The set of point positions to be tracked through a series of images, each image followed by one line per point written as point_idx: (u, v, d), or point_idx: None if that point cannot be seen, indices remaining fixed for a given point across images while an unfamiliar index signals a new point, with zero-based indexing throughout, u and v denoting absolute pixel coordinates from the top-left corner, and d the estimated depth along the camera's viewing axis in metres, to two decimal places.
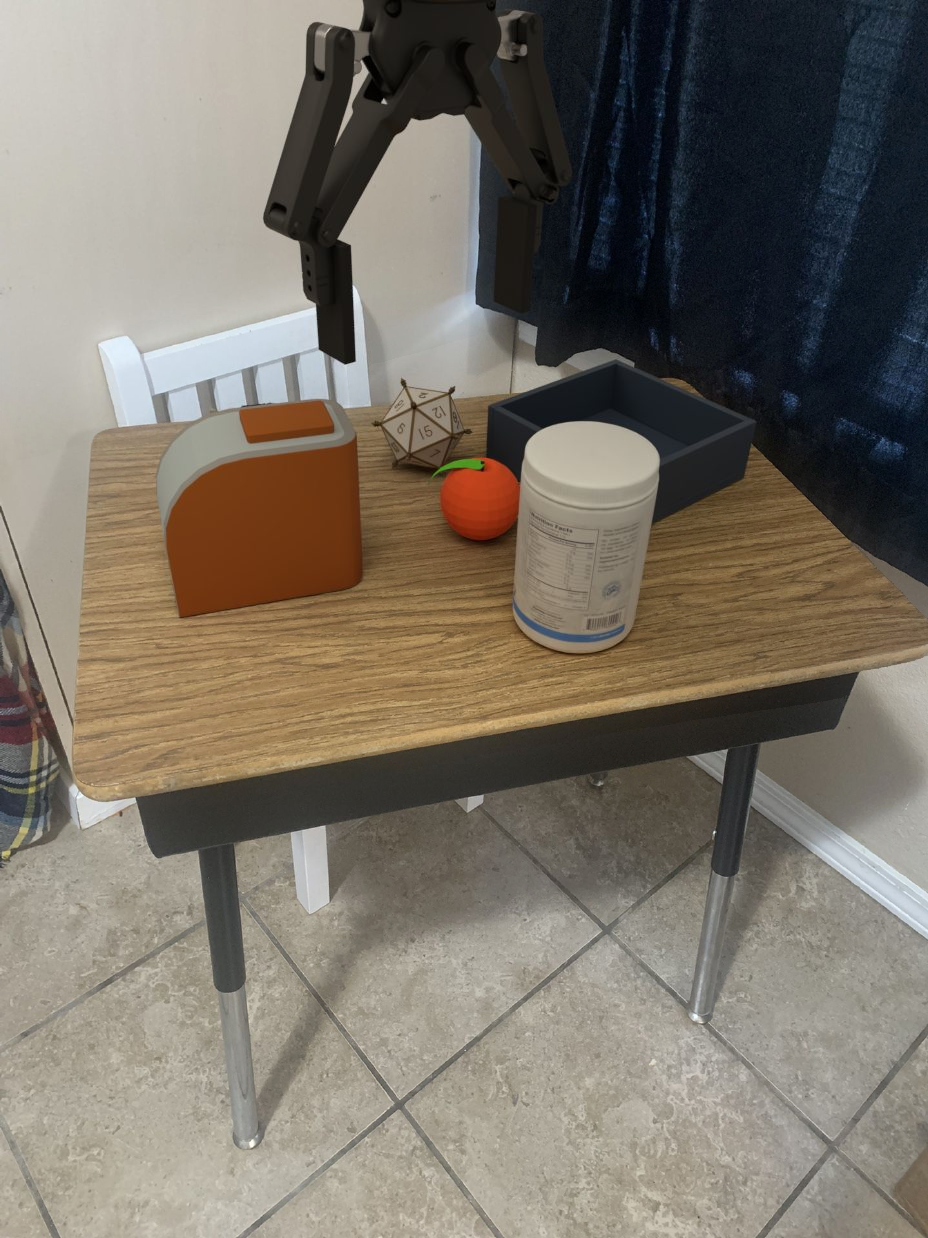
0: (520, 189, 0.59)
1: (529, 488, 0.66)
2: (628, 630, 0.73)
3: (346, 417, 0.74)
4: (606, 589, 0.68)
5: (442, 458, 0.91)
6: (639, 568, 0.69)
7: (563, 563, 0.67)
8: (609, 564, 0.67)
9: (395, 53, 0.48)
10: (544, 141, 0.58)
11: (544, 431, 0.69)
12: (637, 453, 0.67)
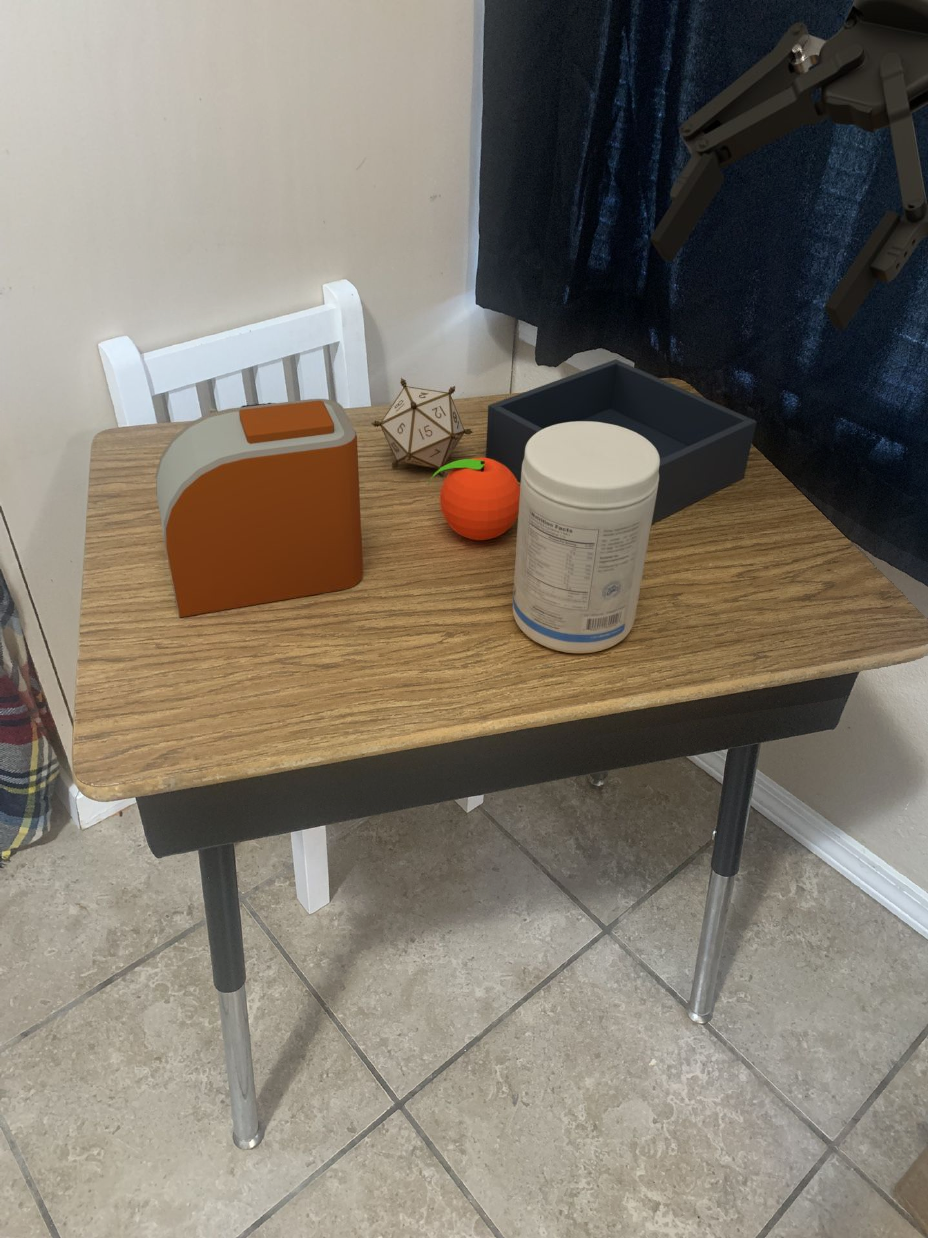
0: None
1: (529, 487, 0.66)
2: (628, 630, 0.73)
3: (346, 417, 0.74)
4: (606, 589, 0.68)
5: (442, 458, 0.91)
6: (639, 568, 0.69)
7: (563, 563, 0.67)
8: (609, 564, 0.67)
9: (832, 49, 0.62)
10: None
11: (544, 431, 0.69)
12: (637, 453, 0.67)
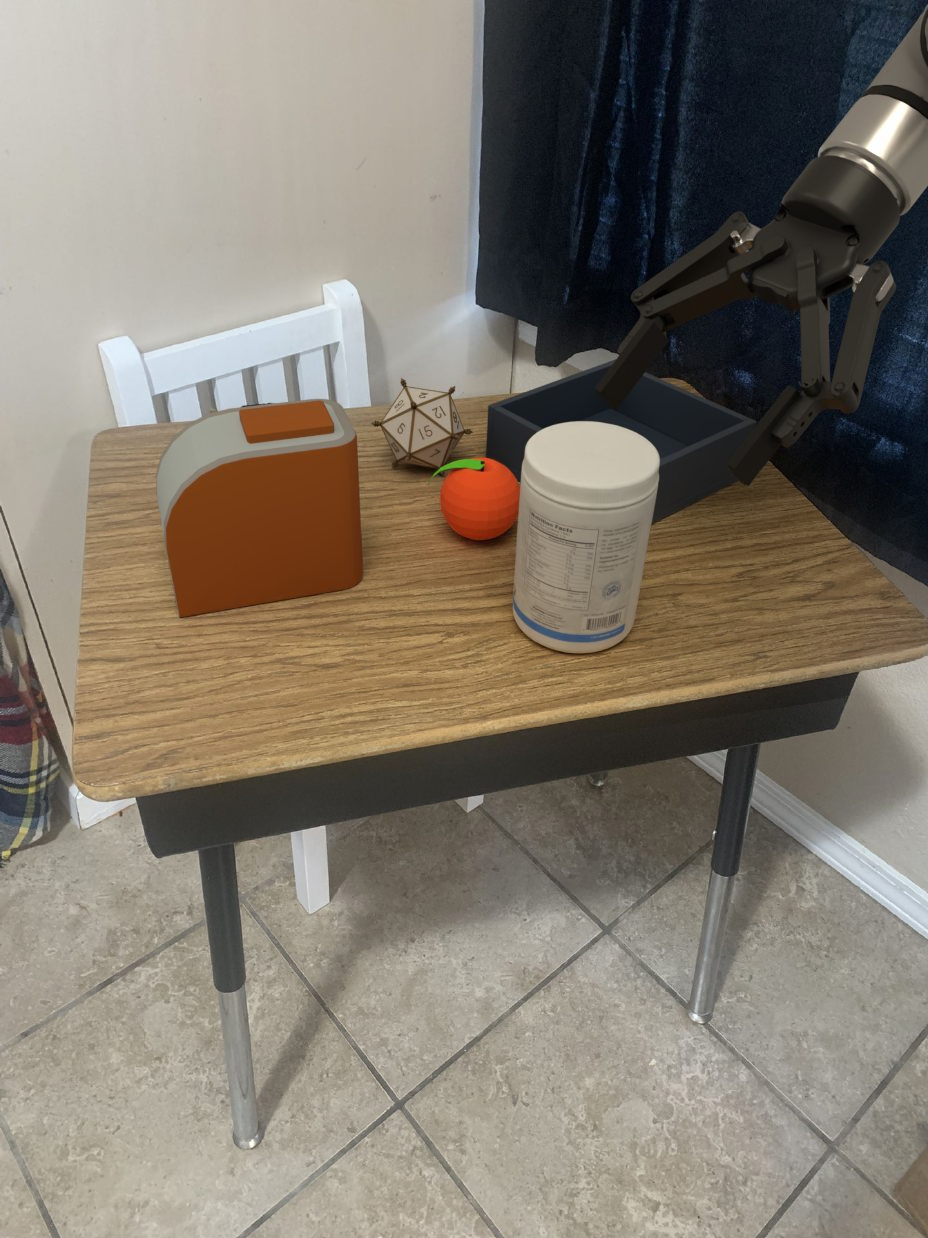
0: None
1: (529, 487, 0.66)
2: (628, 630, 0.73)
3: (346, 417, 0.74)
4: (606, 589, 0.68)
5: (442, 458, 0.91)
6: (639, 568, 0.69)
7: (563, 563, 0.67)
8: (609, 564, 0.67)
9: (762, 238, 0.70)
10: None
11: (544, 431, 0.69)
12: (637, 453, 0.67)
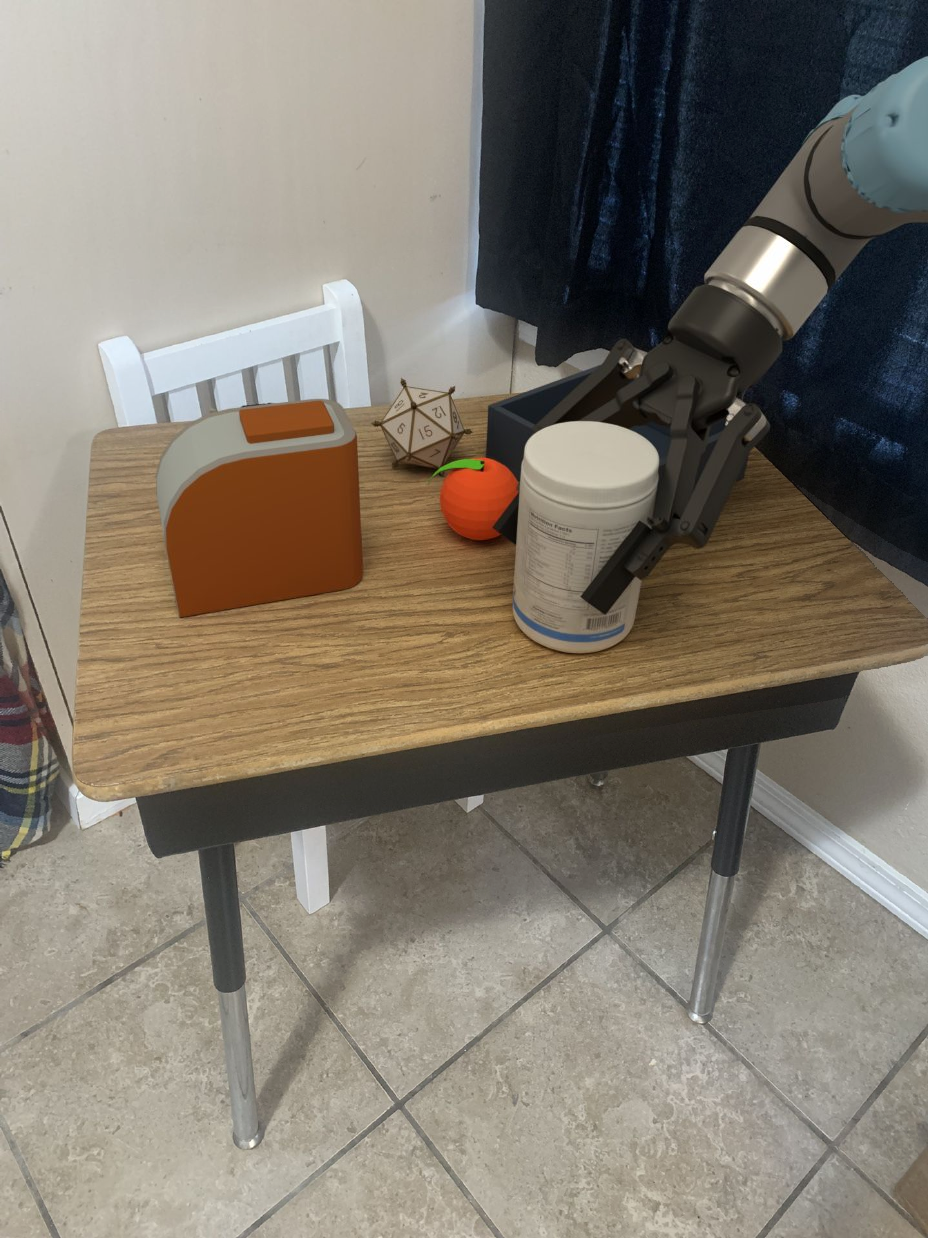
0: None
1: (528, 487, 0.66)
2: (628, 630, 0.73)
3: (346, 417, 0.74)
4: None
5: (442, 458, 0.91)
6: None
7: (563, 563, 0.67)
8: None
9: (650, 361, 0.70)
10: None
11: (544, 431, 0.69)
12: (636, 452, 0.67)
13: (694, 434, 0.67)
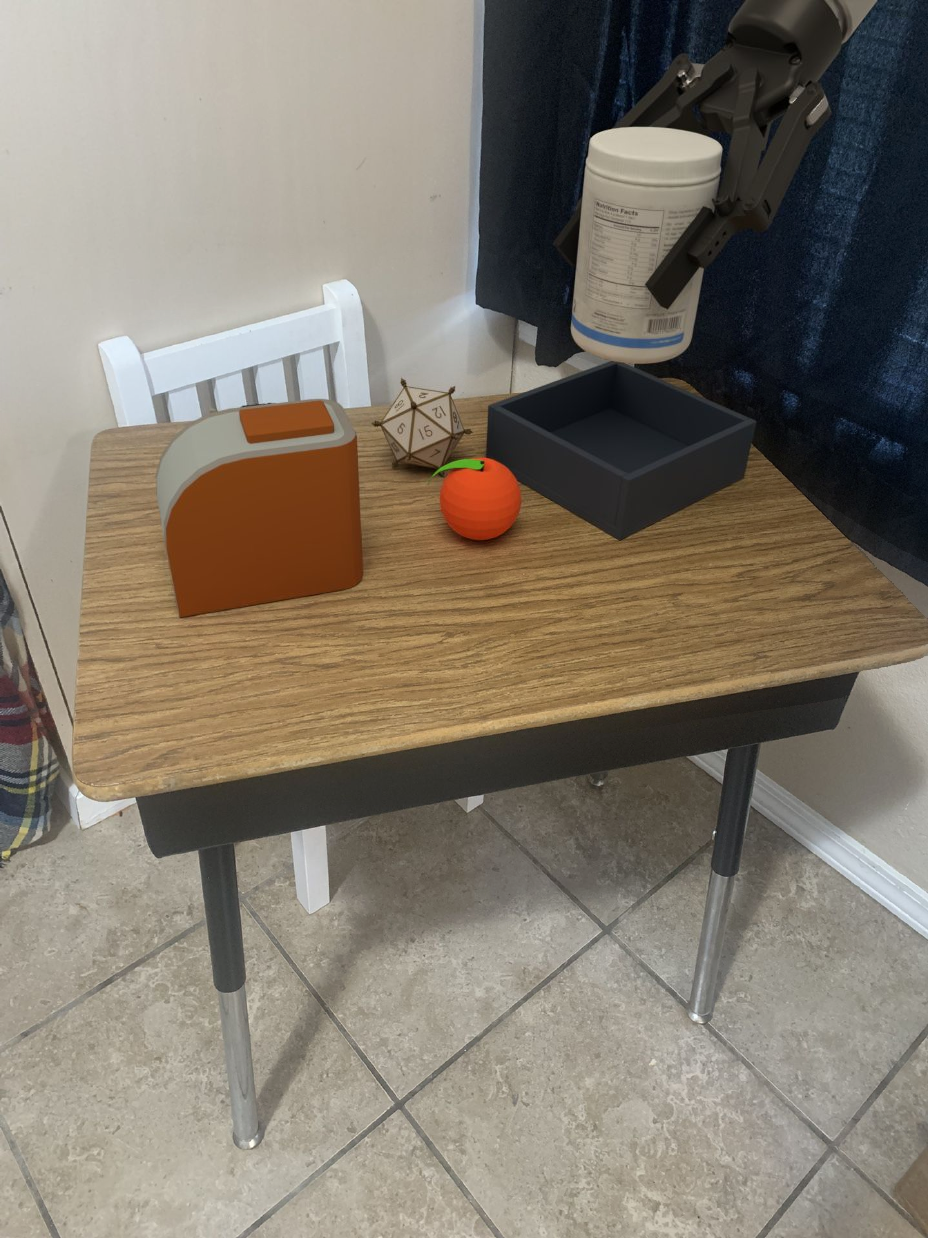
0: None
1: (594, 175, 0.68)
2: (686, 343, 0.74)
3: (346, 417, 0.74)
4: None
5: (442, 458, 0.91)
6: (699, 268, 0.71)
7: (627, 253, 0.69)
8: None
9: (710, 67, 0.71)
10: None
11: (607, 131, 0.70)
12: (700, 142, 0.68)
13: (756, 125, 0.68)
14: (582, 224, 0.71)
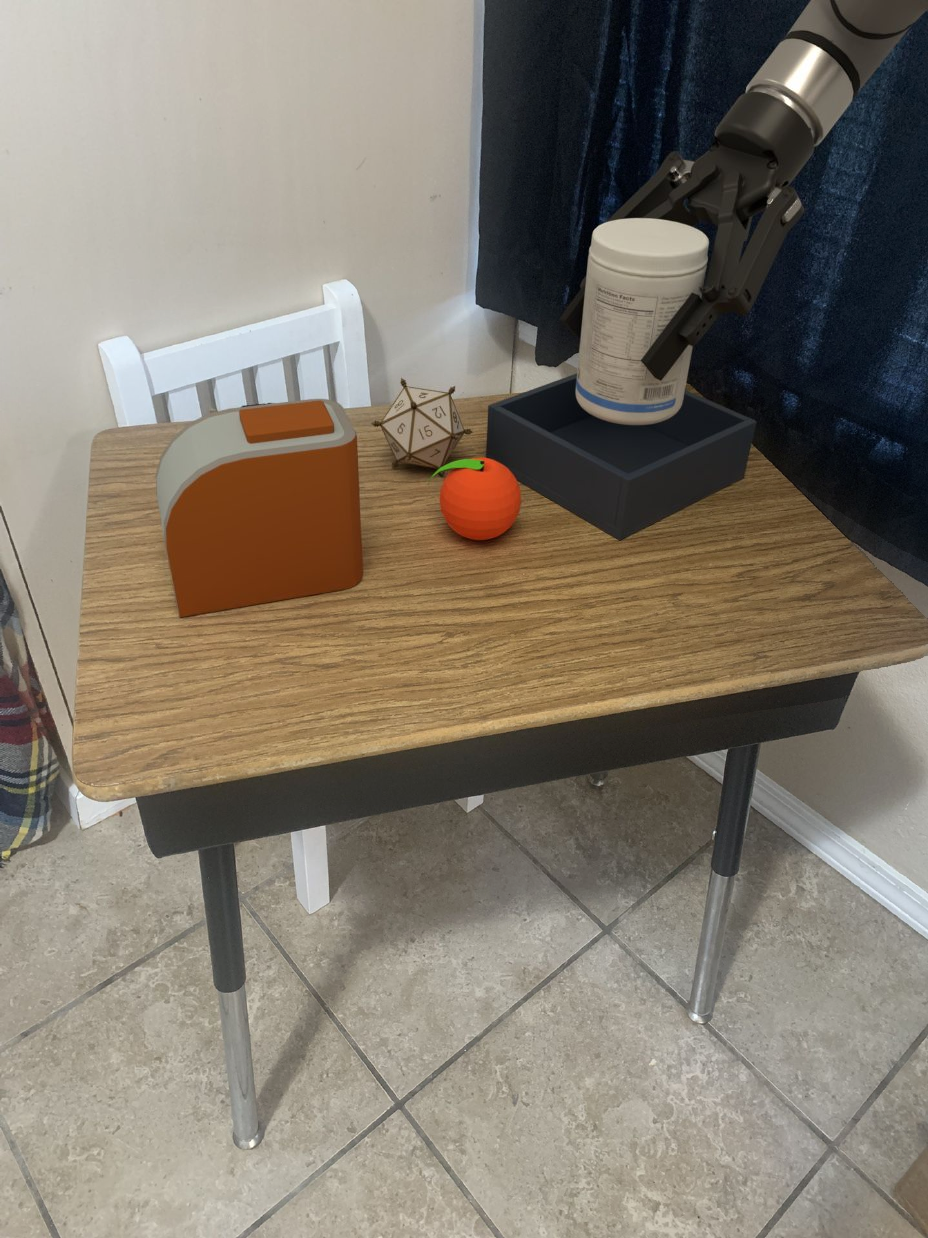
0: None
1: (596, 265, 0.77)
2: (678, 407, 0.84)
3: (346, 417, 0.74)
4: None
5: (442, 458, 0.91)
6: None
7: (626, 332, 0.78)
8: None
9: (699, 166, 0.81)
10: None
11: (607, 223, 0.80)
12: (689, 236, 0.77)
13: (738, 221, 0.78)
14: (586, 304, 0.80)
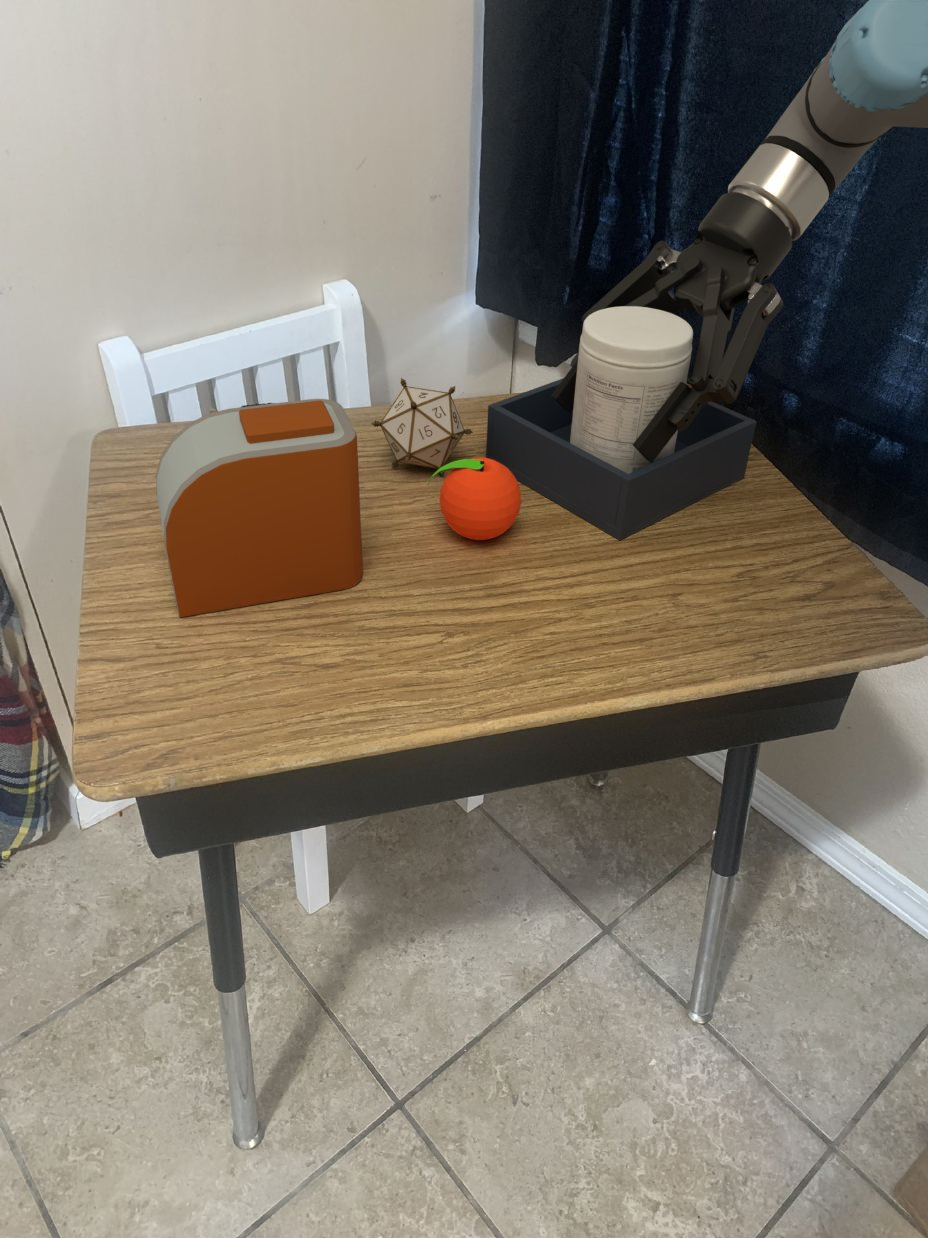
0: None
1: (587, 354, 0.82)
2: None
3: (346, 417, 0.74)
4: None
5: (442, 458, 0.91)
6: None
7: (614, 417, 0.82)
8: (652, 418, 0.82)
9: (683, 258, 0.85)
10: None
11: (598, 312, 0.84)
12: (674, 327, 0.82)
13: (722, 313, 0.82)
14: (577, 388, 0.85)
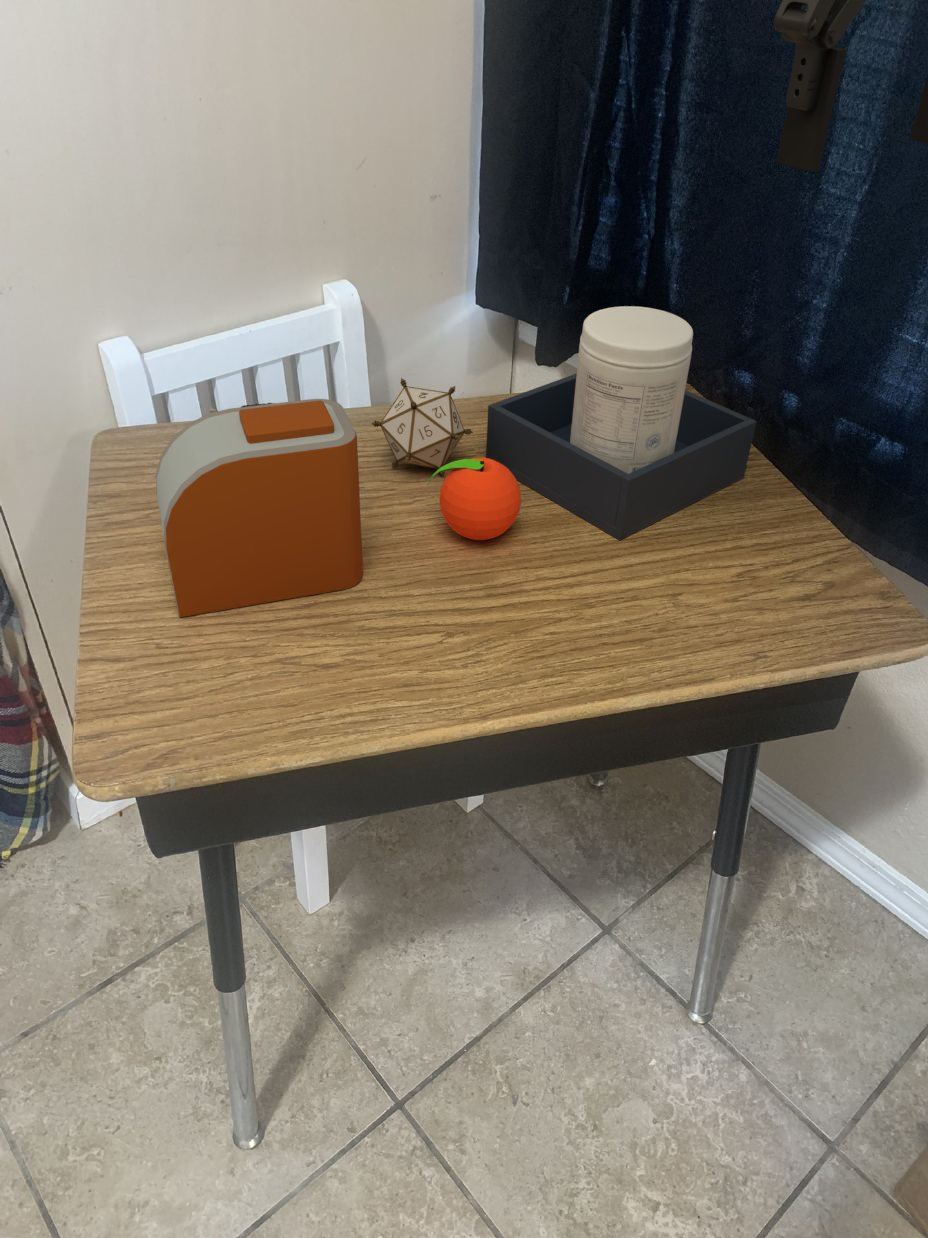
0: None
1: (587, 354, 0.82)
2: None
3: (346, 417, 0.74)
4: (649, 441, 0.84)
5: (442, 458, 0.91)
6: (675, 425, 0.85)
7: (614, 417, 0.82)
8: (652, 418, 0.82)
9: None
10: None
11: (598, 312, 0.84)
12: (674, 327, 0.82)
13: None
14: (577, 388, 0.85)
